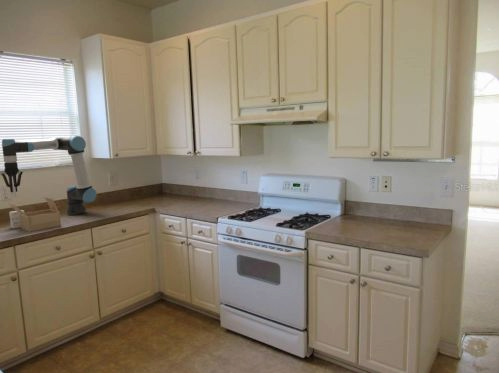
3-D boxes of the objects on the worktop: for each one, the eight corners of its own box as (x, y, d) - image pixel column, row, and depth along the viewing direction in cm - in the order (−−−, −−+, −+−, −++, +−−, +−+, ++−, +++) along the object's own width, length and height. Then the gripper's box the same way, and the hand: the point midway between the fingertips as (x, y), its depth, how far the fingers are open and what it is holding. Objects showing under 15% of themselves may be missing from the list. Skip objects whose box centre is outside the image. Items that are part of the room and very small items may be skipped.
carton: (51, 222, 287) (50, 208, 286) (61, 226, 276) (60, 211, 274) (20, 228, 272) (18, 213, 270) (29, 232, 260) (27, 217, 259)
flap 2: (50, 208, 284) (44, 196, 280) (58, 210, 276) (52, 198, 272) (50, 208, 284) (44, 196, 280) (57, 210, 275) (51, 198, 271)
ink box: (23, 225, 280) (22, 209, 279) (26, 226, 277) (24, 210, 276) (10, 227, 274) (8, 211, 272) (13, 228, 271) (11, 212, 269)
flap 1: (20, 213, 269) (8, 203, 263) (26, 215, 260) (15, 205, 254) (19, 213, 268) (8, 203, 263) (26, 216, 260) (14, 206, 254)
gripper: (19, 161, 263) (23, 194, 267) (-3, 162, 253) (1, 197, 257) (23, 161, 258) (27, 195, 262) (1, 163, 249) (5, 198, 252)
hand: (14, 196), depth 259 cm, fingers closed
